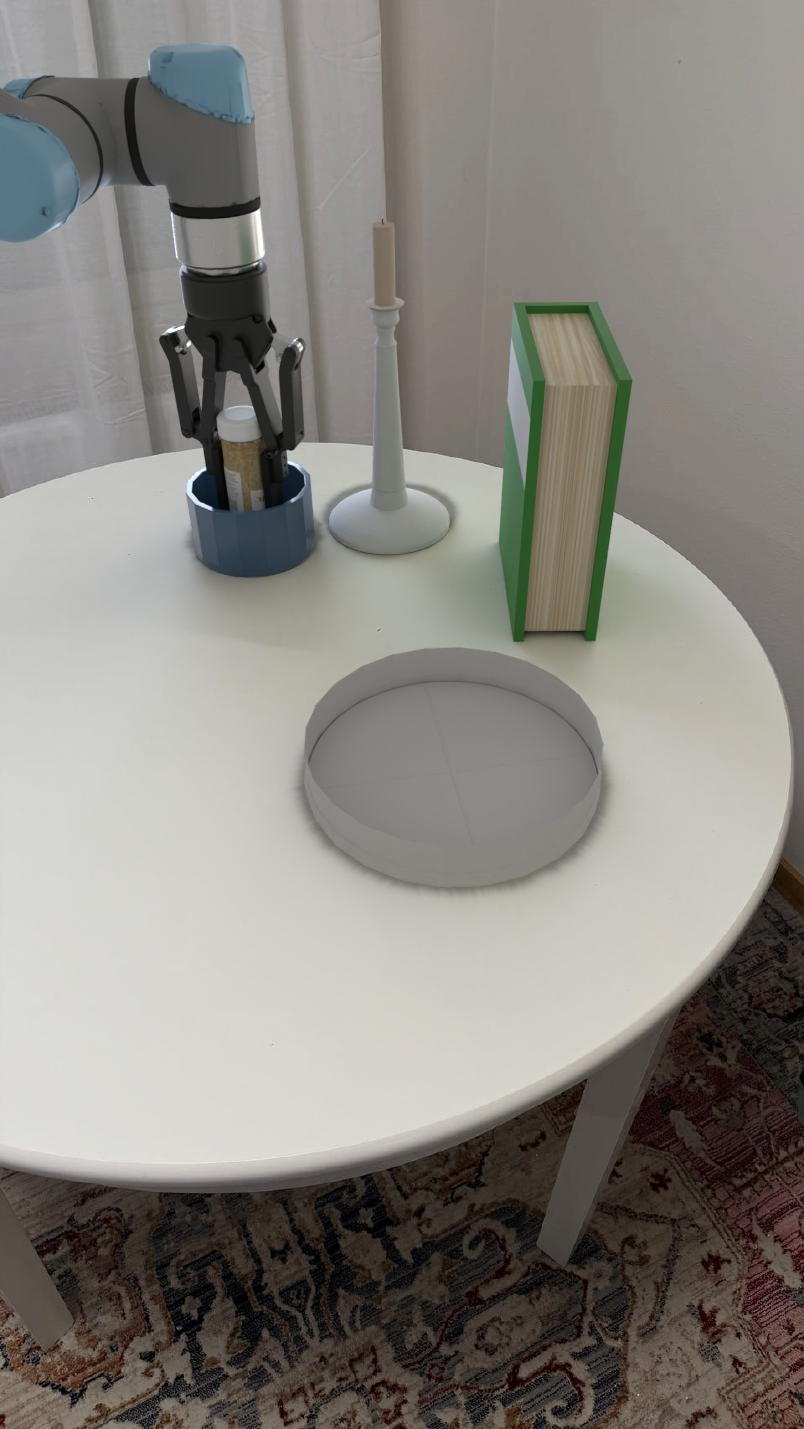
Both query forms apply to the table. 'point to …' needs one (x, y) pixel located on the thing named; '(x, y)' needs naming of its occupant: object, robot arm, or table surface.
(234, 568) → the blue pot
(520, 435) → the hardback book
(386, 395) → the candlestick
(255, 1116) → the table surface
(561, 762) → the dish
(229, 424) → the sprinkles bottle
